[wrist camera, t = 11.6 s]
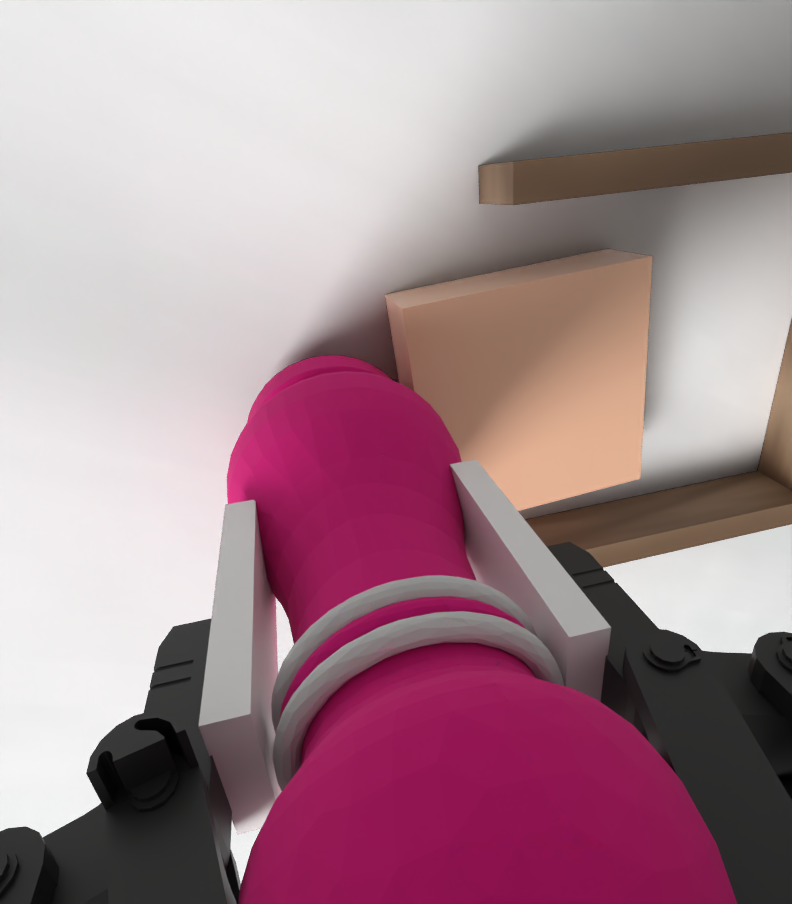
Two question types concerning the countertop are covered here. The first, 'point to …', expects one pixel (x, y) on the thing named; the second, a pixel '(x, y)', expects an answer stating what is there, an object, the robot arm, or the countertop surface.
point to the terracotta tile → (535, 369)
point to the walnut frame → (788, 432)
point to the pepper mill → (429, 688)
